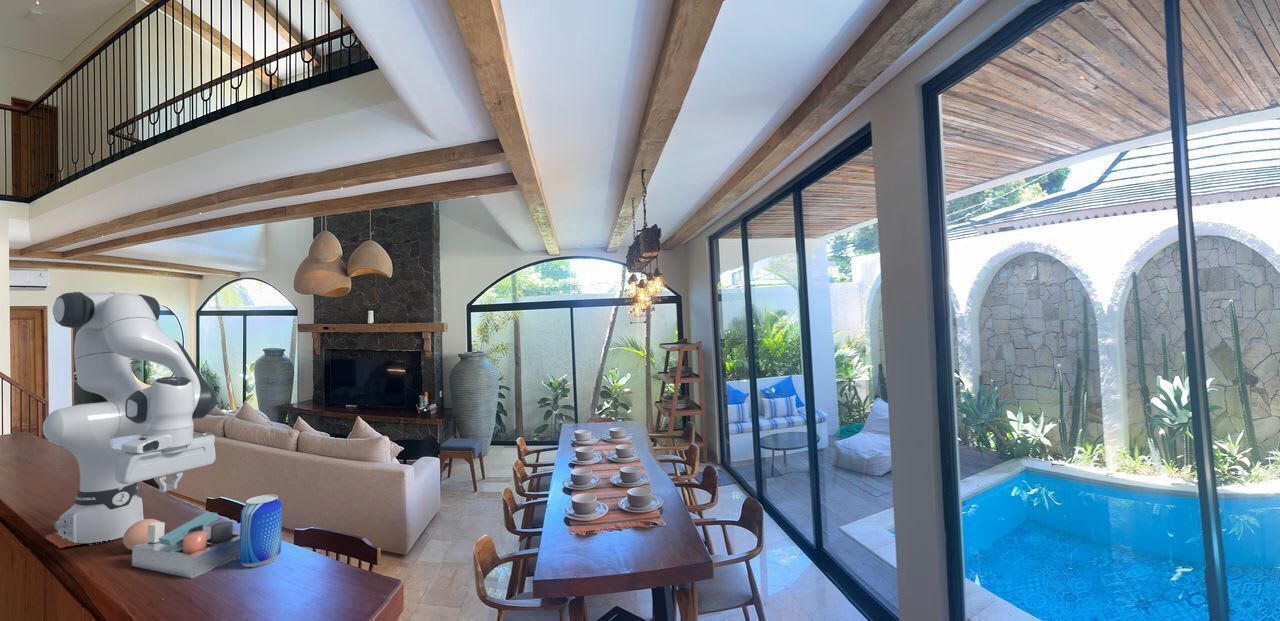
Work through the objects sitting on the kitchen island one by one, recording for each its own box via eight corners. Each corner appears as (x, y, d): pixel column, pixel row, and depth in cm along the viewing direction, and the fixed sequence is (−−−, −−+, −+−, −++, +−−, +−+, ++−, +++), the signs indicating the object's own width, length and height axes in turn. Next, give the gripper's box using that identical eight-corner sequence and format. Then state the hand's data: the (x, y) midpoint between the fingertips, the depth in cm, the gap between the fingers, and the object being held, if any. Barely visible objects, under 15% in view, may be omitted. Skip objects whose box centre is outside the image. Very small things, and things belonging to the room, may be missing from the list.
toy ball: (171, 544, 134) (172, 515, 135) (137, 557, 127) (138, 526, 127) (148, 542, 136) (149, 513, 136) (114, 554, 128) (115, 524, 128)
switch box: (131, 565, 122) (133, 532, 122) (196, 542, 135) (197, 512, 136) (191, 578, 116) (192, 543, 116) (252, 552, 129) (253, 520, 130)
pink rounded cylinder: (178, 561, 119) (178, 536, 119) (198, 553, 123) (199, 529, 124) (190, 563, 118) (191, 538, 118) (210, 555, 122) (211, 531, 122)
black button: (205, 550, 125) (206, 527, 125) (224, 543, 129) (225, 520, 129) (217, 552, 124) (218, 529, 124) (236, 545, 128) (237, 522, 128)
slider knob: (147, 541, 124) (147, 524, 124) (156, 538, 126) (157, 521, 126) (154, 543, 123) (155, 525, 124) (164, 539, 125) (164, 522, 125)
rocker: (160, 543, 122) (158, 538, 122) (208, 516, 132) (206, 511, 132) (171, 545, 121) (169, 540, 121) (218, 518, 131) (217, 513, 131)
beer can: (257, 570, 119) (259, 505, 120) (230, 567, 121) (232, 503, 122) (288, 555, 128) (290, 494, 128) (262, 552, 129) (264, 492, 130)
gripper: (207, 429, 139) (204, 477, 139) (112, 446, 119) (109, 502, 119) (222, 431, 137) (220, 480, 137) (129, 448, 118) (126, 505, 117)
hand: (168, 490), depth 128 cm, fingers closed
